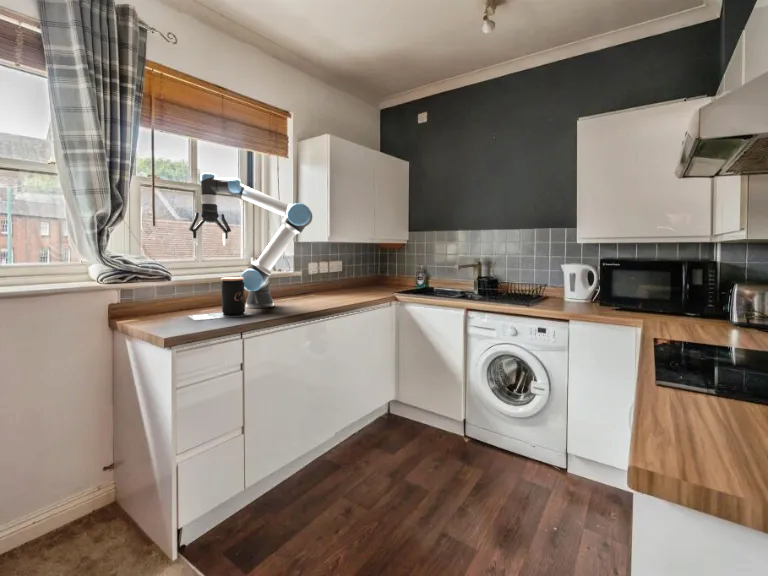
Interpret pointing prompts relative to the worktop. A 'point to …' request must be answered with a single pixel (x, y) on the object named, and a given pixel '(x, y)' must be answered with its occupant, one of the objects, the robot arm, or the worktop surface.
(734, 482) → the worktop surface
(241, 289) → the coffee jar
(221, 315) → the label board
